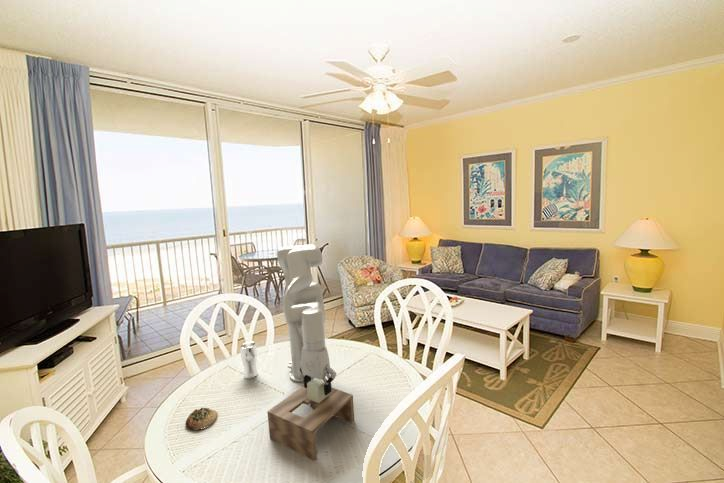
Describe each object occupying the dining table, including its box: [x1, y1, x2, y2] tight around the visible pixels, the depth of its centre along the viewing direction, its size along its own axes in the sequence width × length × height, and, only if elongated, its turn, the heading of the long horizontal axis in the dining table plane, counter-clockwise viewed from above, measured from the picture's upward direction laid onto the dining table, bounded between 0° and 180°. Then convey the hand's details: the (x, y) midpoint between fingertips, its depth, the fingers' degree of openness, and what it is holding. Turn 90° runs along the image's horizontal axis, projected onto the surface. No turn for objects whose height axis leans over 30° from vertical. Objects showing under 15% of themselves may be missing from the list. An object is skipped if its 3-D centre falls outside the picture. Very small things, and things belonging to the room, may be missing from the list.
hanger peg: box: [307, 378, 328, 403], centre depth 123 cm, size 5×5×13 cm
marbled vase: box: [240, 341, 259, 379], centre depth 159 cm, size 7×7×15 cm
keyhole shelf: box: [266, 385, 355, 462], centre depth 120 cm, size 20×22×10 cm
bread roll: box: [185, 407, 219, 430], centre depth 128 cm, size 11×11×5 cm
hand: (317, 389), depth 122 cm, fingers open, 9 cm apart
